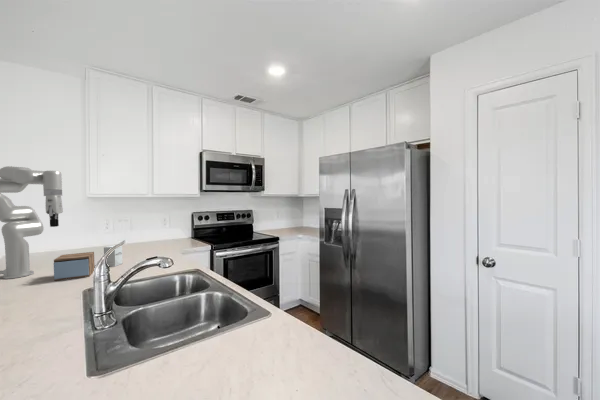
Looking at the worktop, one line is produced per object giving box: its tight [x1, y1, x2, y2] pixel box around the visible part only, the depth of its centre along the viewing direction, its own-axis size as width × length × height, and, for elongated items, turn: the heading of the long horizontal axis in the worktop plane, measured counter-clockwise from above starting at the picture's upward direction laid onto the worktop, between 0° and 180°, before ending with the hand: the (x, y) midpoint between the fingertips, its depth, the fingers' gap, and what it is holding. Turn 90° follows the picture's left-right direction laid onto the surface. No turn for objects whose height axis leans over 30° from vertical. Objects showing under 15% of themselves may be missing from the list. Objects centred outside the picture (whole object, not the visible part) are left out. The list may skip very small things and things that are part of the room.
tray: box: [53, 259, 89, 280], centre depth 152 cm, size 14×15×9 cm
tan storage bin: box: [53, 251, 95, 282], centre depth 153 cm, size 14×15×12 cm
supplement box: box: [103, 244, 123, 268], centre depth 175 cm, size 7×7×13 cm
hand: (54, 226), depth 147 cm, fingers closed
